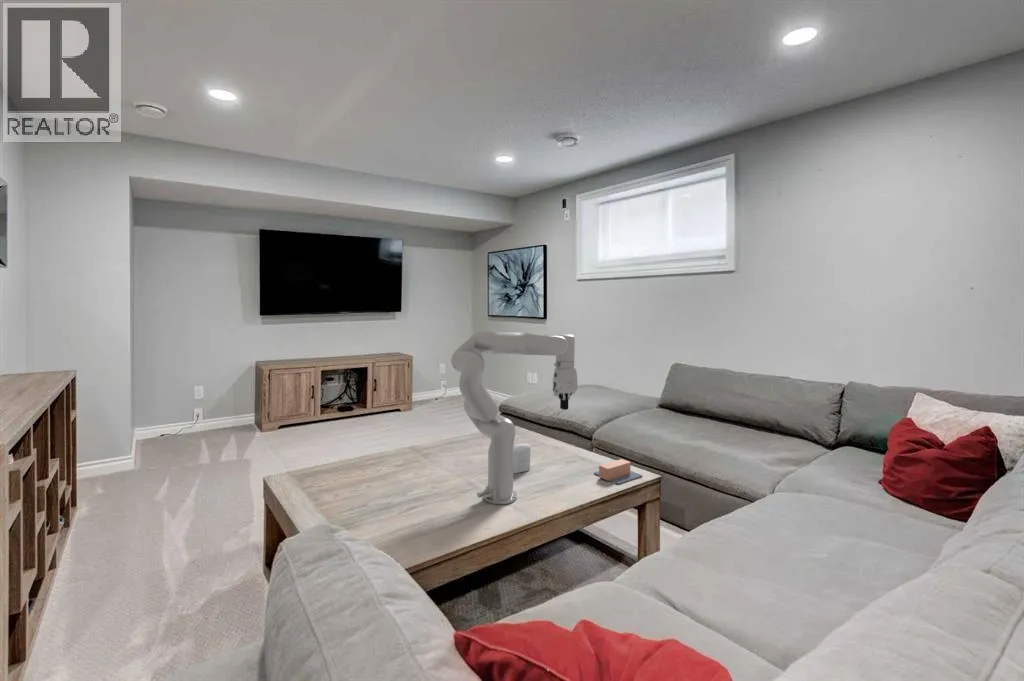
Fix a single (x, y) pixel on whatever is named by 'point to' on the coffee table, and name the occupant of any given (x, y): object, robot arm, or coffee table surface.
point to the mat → (624, 477)
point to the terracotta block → (614, 469)
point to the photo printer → (521, 458)
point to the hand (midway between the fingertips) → (564, 408)
